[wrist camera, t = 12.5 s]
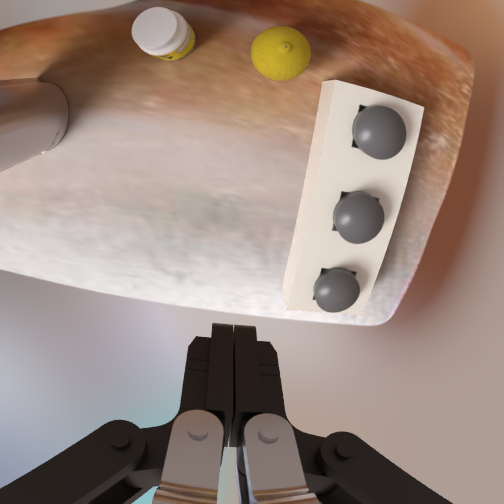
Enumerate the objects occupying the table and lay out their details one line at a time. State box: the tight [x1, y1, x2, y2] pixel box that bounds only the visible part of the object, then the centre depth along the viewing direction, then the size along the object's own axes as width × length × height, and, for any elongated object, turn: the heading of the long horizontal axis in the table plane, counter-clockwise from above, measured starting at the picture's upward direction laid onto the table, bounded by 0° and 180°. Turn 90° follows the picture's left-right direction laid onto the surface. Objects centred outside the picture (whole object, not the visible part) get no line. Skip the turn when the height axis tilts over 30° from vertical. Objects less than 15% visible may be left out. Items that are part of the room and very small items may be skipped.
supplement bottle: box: [132, 7, 196, 61], centre depth 23 cm, size 5×5×8 cm
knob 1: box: [313, 268, 360, 313], centre depth 36 cm, size 5×5×6 cm
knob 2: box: [352, 105, 406, 160], centre depth 28 cm, size 5×5×6 cm
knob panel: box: [282, 80, 424, 315], centre depth 34 cm, size 26×10×5 cm, turn 172°
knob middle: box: [333, 191, 385, 244], centre depth 32 cm, size 5×5×6 cm
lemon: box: [251, 26, 311, 81], centre depth 25 cm, size 6×6×8 cm
